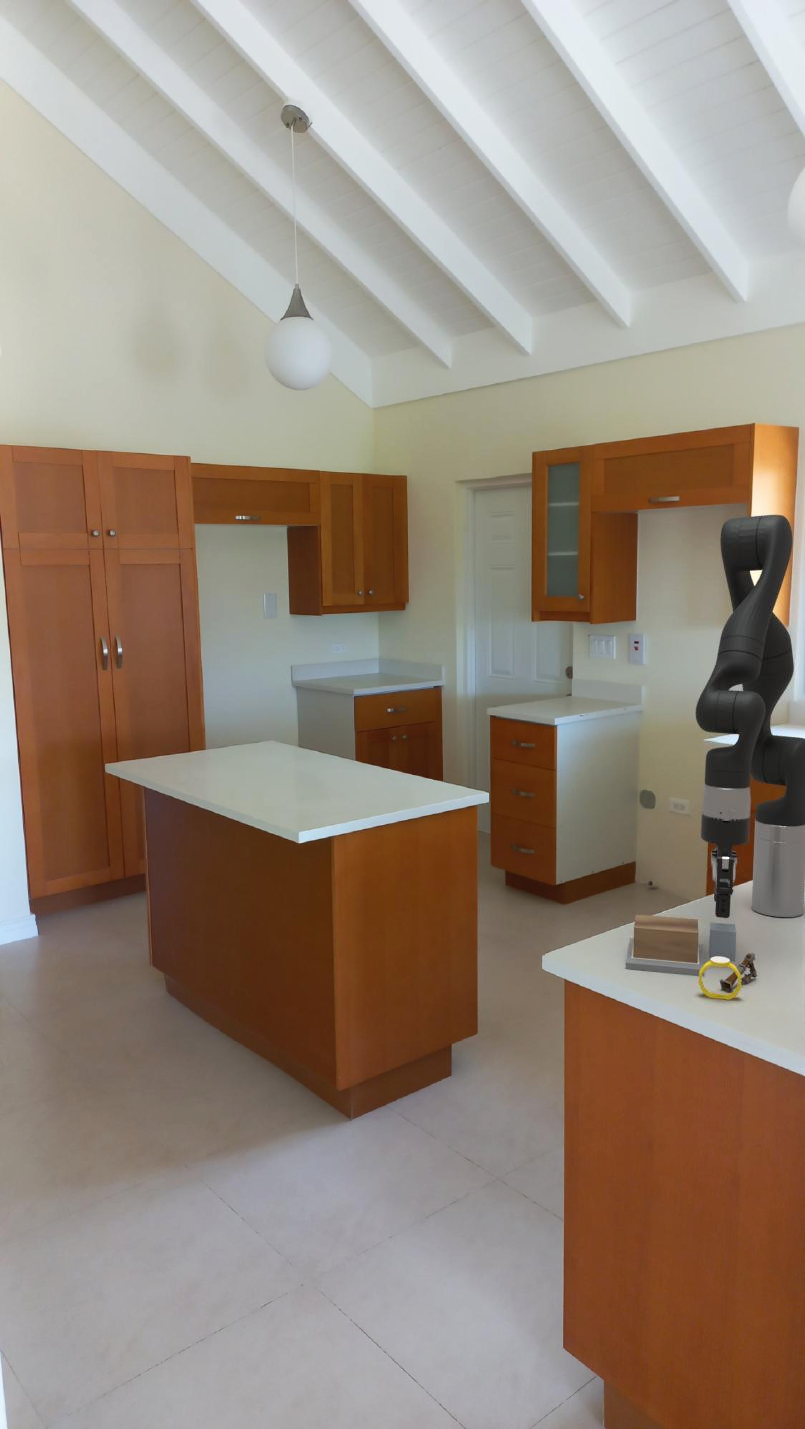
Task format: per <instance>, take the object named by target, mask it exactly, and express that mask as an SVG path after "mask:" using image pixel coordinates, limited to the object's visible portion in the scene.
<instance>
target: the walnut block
mask: <svg viewBox="0 0 805 1429" xmlns="http://www.w3.org/2000/svg"><path fill="white" fill-rule="evenodd" d="M634 918H635V919H634V925H633V938H634V945H633V958H644V959H655V960H666V961H677V962H688V963H698V944H699V933H700V932H699V919H697V918H685V917H674V916H673V917H672V916H660V915H646V914H635V917H634Z"/></svg>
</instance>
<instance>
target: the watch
mask: <svg viewBox="0 0 805 1429" xmlns="http://www.w3.org/2000/svg"><path fill="white" fill-rule="evenodd" d="M712 966H713V967H718V968H726V967H728V968H729V969H731V970H732V971H733V972H735V973H736V975H737V977H738V979H737V980H738V983H737V986H736V987H735V989H734V990H733V992H731V993H728V994H724V993H714V992H710V991H709V990H708V989H707V988H706V987H705V985H704V983H703V979H702V978H703V976H702V974H703V973H704V974H705V971H706V970H707V969H708V968H711V967H712ZM741 978H742V975H740V973H739V971H738V969H737V966H735V964H733V963H731V961H730V960H729V959H728V958H726V957H720V956H716V957H712V958H711V959H710V958H709V961H707V962H705V963H704V965H703V967H702V968H701V969H700V973H699V976H698V984H699V988H700V990H701V991H702V992H703V994H704V995H705V996H706V997H707V998H709V999H719V1000H727V1001H730V1000H732V999H733V998H735V997H737V996H738V995H739V992H740V990H741V988H742V983H741V981H742V980H741Z"/></svg>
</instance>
